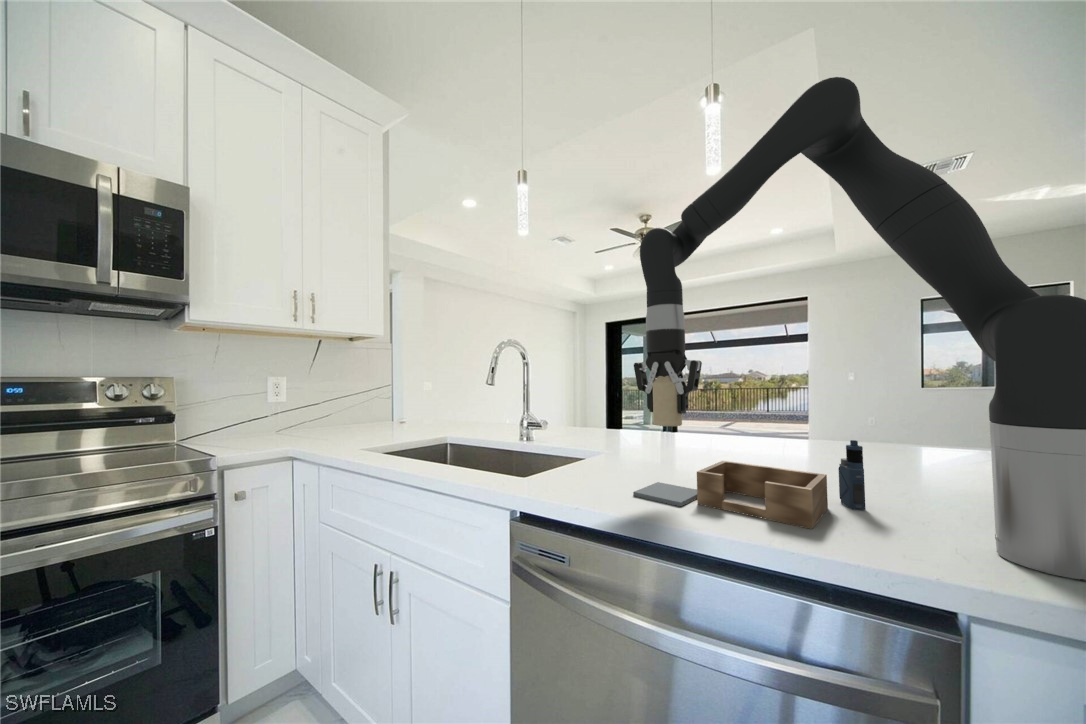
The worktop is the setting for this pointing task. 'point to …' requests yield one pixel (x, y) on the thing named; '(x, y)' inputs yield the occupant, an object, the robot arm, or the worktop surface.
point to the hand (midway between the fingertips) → (667, 412)
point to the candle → (665, 403)
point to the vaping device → (852, 477)
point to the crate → (765, 491)
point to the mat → (667, 493)
